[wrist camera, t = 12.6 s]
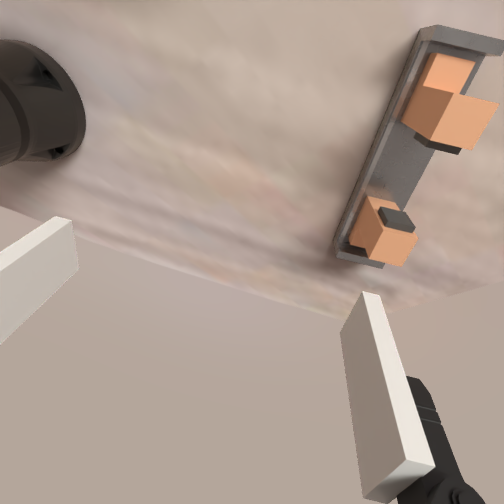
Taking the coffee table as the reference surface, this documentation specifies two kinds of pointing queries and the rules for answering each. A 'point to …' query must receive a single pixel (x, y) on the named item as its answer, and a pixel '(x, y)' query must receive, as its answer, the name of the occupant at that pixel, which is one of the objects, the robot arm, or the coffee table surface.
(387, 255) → the block
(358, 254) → the rail
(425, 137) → the fixed finger
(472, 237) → the coffee table surface
